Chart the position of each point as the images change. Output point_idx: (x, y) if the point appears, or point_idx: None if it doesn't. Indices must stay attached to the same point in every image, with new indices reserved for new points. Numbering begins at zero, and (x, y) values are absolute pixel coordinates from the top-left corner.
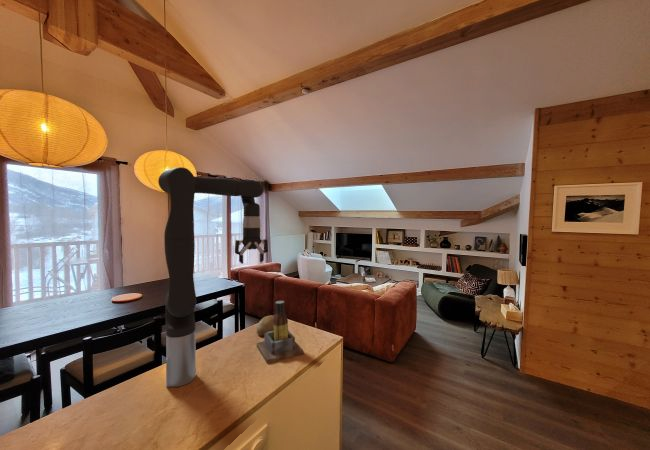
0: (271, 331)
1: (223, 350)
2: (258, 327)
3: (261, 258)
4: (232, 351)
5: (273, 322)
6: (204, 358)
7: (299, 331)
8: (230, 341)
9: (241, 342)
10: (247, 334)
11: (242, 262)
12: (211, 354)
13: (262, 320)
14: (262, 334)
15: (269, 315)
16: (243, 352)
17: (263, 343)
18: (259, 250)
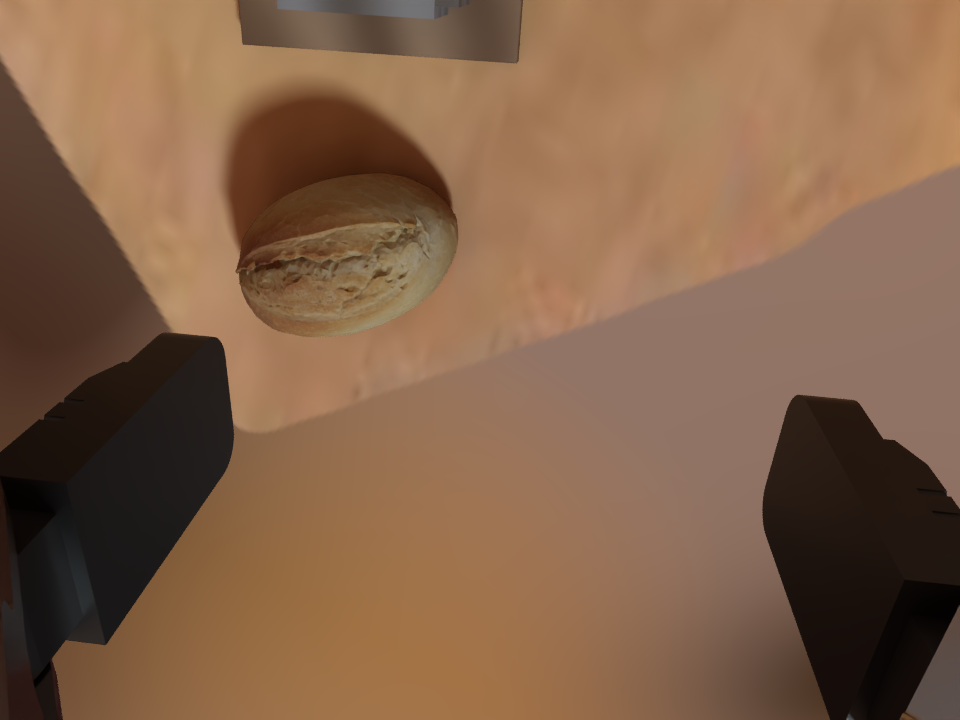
0: (391, 10)
1: (744, 133)
2: (441, 241)
3: (141, 387)
4: (696, 80)
5: (318, 202)
6: (897, 87)
7: (145, 117)
8: (654, 242)
9: (593, 184)
10: (514, 283)
11: (831, 407)
12: (835, 120)
13: (394, 271)
14: (428, 187)
15: (315, 322)
16: (634, 17)
17: (472, 23)
18: (12, 620)
